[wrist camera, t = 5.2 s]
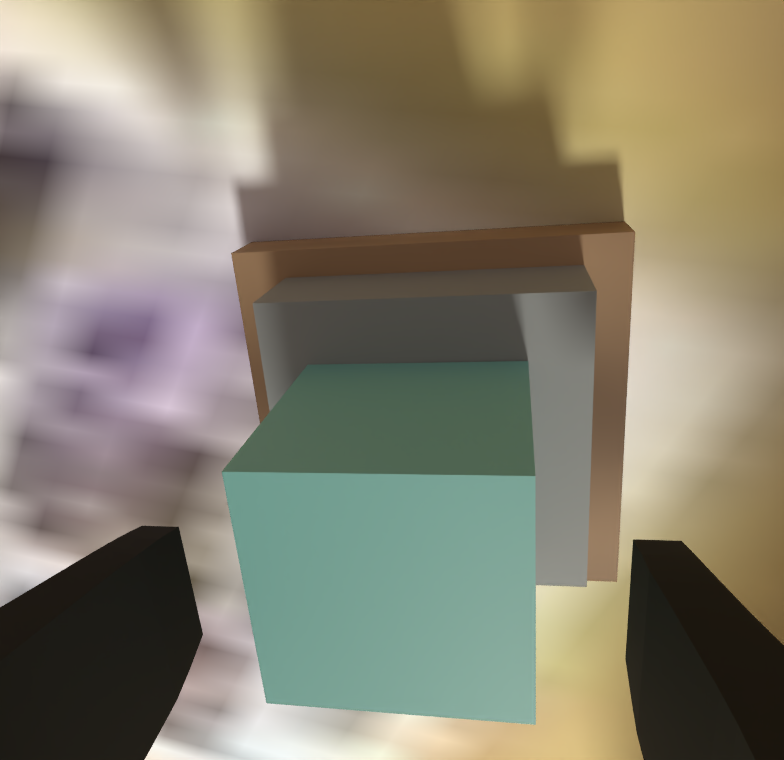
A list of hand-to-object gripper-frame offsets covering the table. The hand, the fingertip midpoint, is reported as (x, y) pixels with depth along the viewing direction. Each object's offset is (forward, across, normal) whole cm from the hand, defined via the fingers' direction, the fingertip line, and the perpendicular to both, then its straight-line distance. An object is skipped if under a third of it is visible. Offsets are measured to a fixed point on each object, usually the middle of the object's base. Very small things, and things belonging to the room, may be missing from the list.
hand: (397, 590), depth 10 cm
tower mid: (+6, 0, 0) cm, 6 cm away
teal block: (+3, 0, 0) cm, 3 cm away
